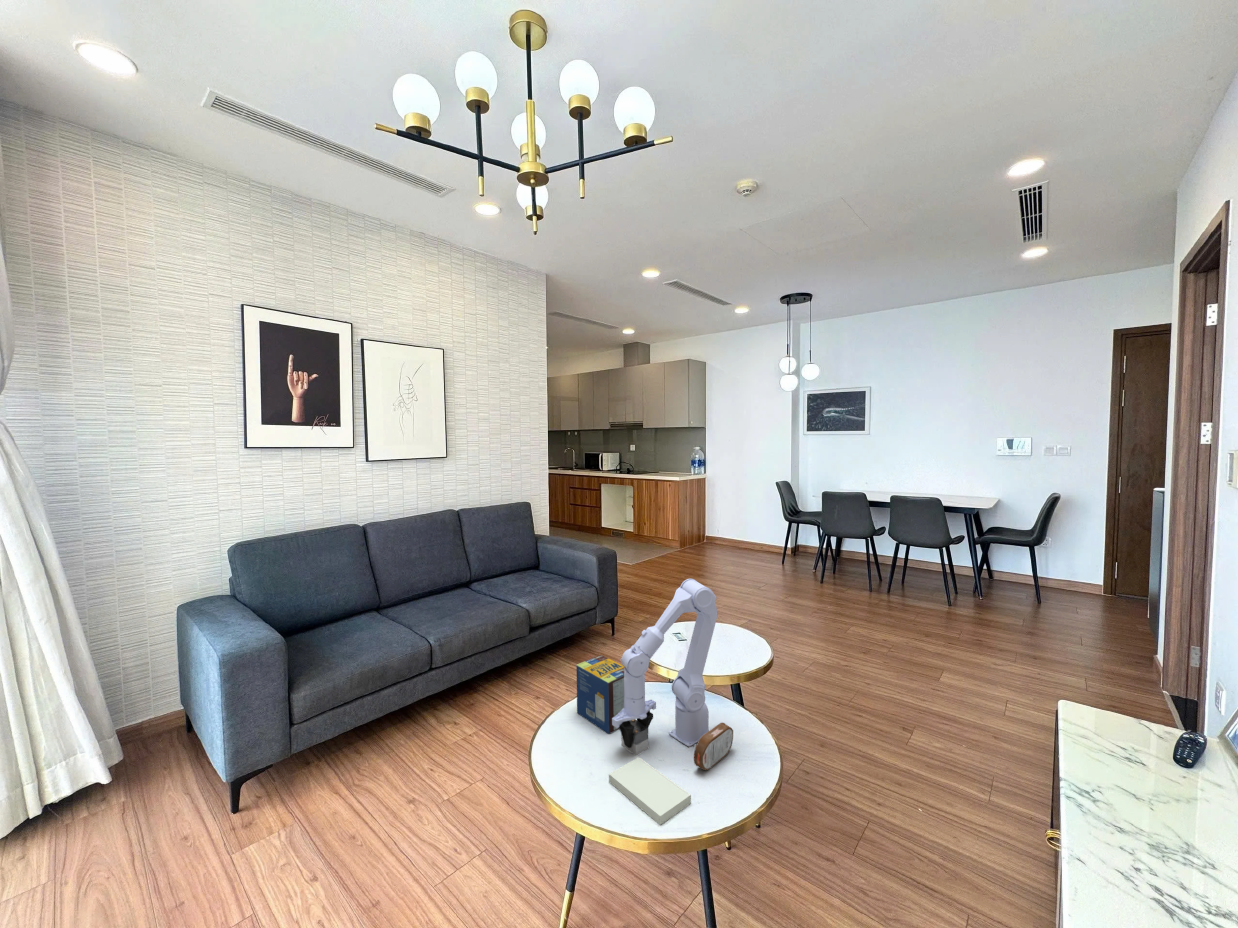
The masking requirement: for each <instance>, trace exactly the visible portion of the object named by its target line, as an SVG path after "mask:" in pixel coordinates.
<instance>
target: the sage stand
mask: <svg viewBox="0 0 1238 928" xmlns="http://www.w3.org/2000/svg"><path fill="white" fill-rule="evenodd" d="M608 782H609V783H610V784H611V785H612V786H614V787H615V788H616V789H617V790H618V791H620V793H622V794H623V795H624V796H625V797H626V798H628V799H629V800H630V801H631V802H632V803H634V804H635V805H636V806H637V807H638V808H640V809H641V810H642V811H643V812H644V813H646V814H647V816H648V817H650V818H651V819H653V820H654V821H655V823H657V824H658V825H663V824H664V823H665V822H667V821H668V820H670V818H673V817H674V816H675V815H676V814H678V813H679V812H681V811H682V810H683V809H685V808H686V807H687V806H689V805H691V804H692V795H691V794H690V793H689V792H688V791H687V790H685V789H684V788H682V787H681V786H679V784H677V783H675V782H674V781H673V780H671V779H669V777H667V776H666V775H664V774H663V773H661V772H660V771H659V770H658V769H656V768H655V767H653V766H652V765H651V764H649V763H648V762H647V761H645V760H644V759H642V758H641V757H639V756H638V757H636V758H634V759H632V760H631V761H629V762H628V763H626V764H624V765H622V766H620V767H619V768H617V769H615V770H613V771H612V772H610V773H609V774H608Z"/></svg>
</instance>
